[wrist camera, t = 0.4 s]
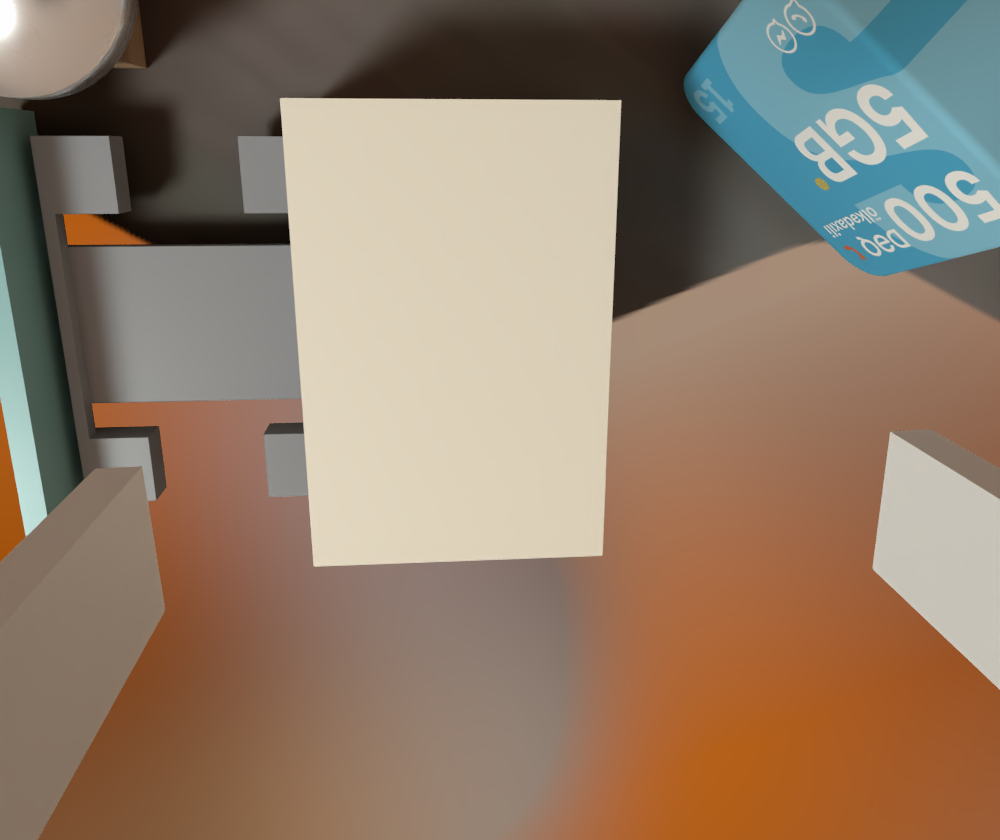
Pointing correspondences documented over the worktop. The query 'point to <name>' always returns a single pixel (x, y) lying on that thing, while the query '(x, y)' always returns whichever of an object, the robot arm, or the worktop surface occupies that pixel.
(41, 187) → the teal grey flat block
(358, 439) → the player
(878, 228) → the data package
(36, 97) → the disc
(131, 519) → the robot arm
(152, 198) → the worktop surface
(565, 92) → the worktop surface
